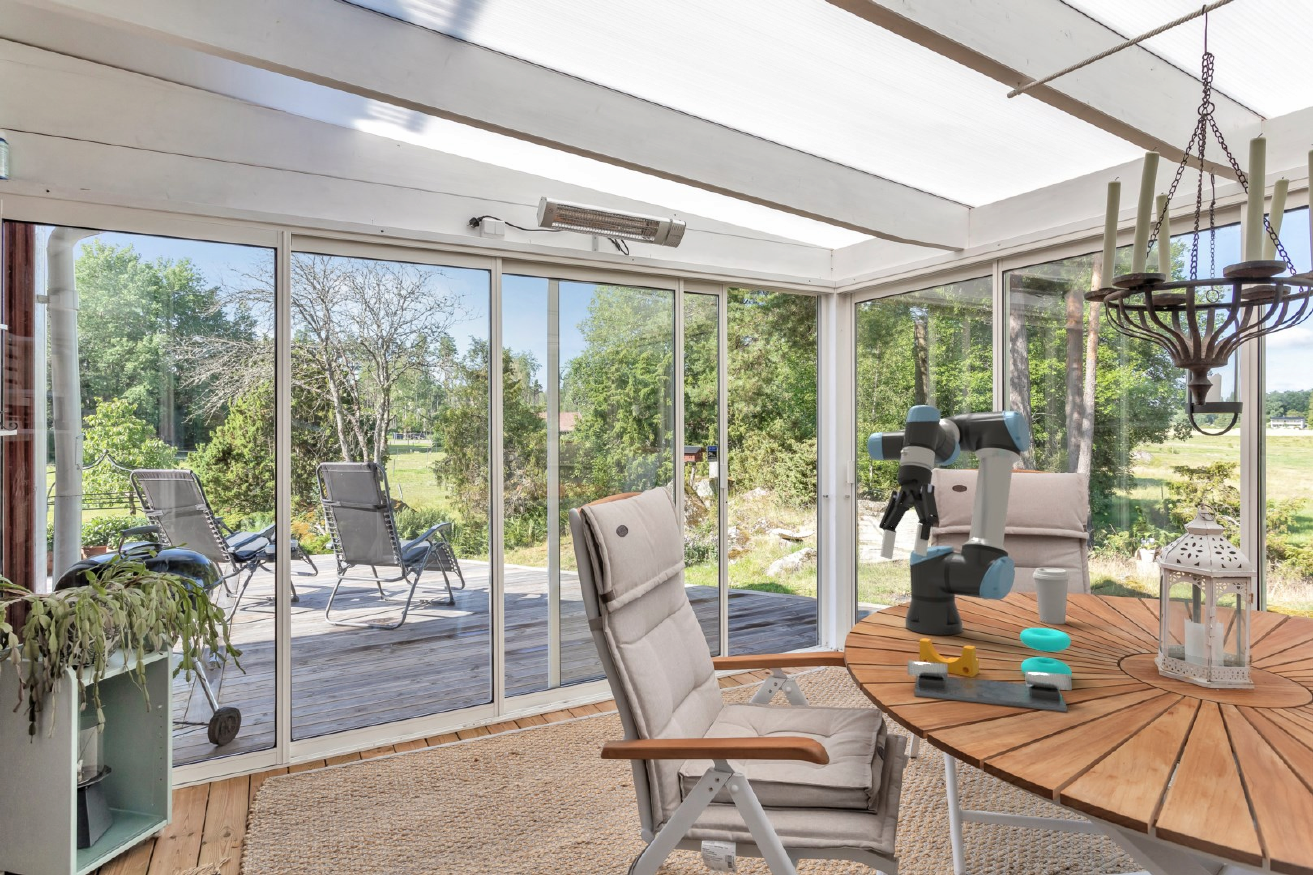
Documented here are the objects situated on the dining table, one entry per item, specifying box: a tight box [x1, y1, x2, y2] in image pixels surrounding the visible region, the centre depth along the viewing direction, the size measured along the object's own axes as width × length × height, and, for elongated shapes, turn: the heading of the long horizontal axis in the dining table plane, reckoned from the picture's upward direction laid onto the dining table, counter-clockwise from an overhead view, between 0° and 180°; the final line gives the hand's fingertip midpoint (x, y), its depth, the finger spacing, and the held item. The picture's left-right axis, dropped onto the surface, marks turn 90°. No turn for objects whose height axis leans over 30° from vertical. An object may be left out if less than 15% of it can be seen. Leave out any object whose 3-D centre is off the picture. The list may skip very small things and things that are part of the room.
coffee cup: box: [1032, 567, 1071, 625], centre depth 205 cm, size 10×10×15 cm
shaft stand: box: [907, 659, 1072, 713], centre depth 148 cm, size 12×31×6 cm, turn 68°
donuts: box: [1019, 627, 1073, 677], centre depth 158 cm, size 10×10×10 cm
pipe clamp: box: [918, 637, 980, 678], centre depth 164 cm, size 12×4×6 cm, turn 48°
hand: (902, 556), depth 161 cm, fingers open, 13 cm apart
